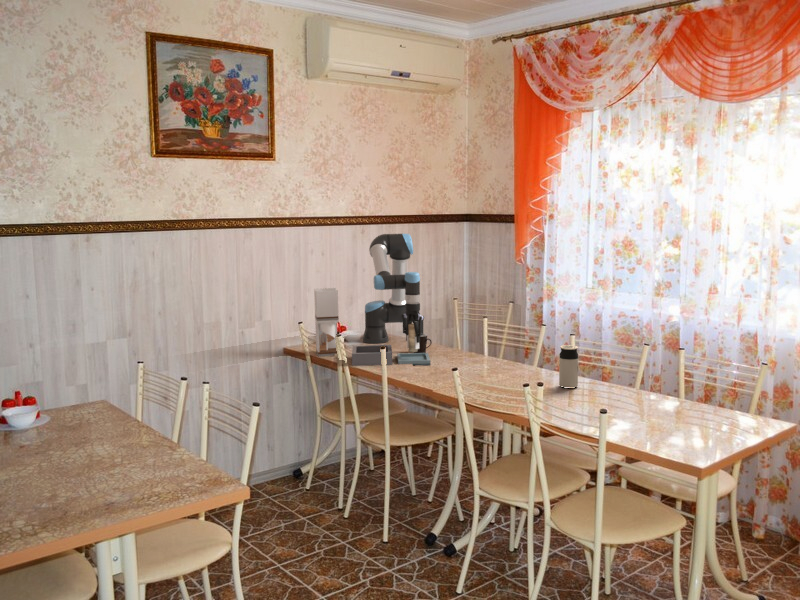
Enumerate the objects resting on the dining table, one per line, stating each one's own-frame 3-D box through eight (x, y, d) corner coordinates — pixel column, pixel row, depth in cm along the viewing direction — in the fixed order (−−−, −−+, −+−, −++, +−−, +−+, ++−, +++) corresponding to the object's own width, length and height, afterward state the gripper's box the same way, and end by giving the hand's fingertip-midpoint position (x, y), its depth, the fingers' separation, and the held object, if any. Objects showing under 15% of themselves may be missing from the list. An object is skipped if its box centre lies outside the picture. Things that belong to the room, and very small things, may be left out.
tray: (397, 358, 394) (397, 353, 393) (427, 357, 394) (427, 352, 394) (398, 366, 376) (398, 361, 375) (430, 365, 376) (430, 360, 376)
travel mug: (557, 388, 329) (557, 347, 326) (561, 384, 336) (561, 344, 334) (575, 390, 326) (576, 349, 323) (579, 385, 333) (580, 345, 330)
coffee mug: (408, 352, 406) (408, 334, 405) (423, 351, 410) (422, 333, 409) (418, 356, 396) (418, 338, 395) (433, 355, 400) (432, 336, 398)
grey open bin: (353, 358, 394) (352, 345, 393) (391, 357, 394) (391, 344, 393) (352, 367, 374) (351, 353, 373) (392, 366, 375) (392, 352, 374)
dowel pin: (408, 350, 386) (408, 323, 384) (417, 350, 386) (417, 323, 384) (409, 352, 382) (408, 325, 380) (417, 352, 382) (417, 324, 380)
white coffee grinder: (318, 356, 401) (316, 291, 396) (316, 352, 411) (314, 288, 406) (339, 355, 403) (337, 290, 398) (337, 351, 413) (335, 288, 408)
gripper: (394, 302, 384) (395, 347, 387) (420, 305, 372) (421, 351, 375) (404, 300, 389) (405, 344, 393) (430, 303, 377) (431, 349, 381)
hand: (413, 348), depth 384 cm, fingers closed on dowel pin, 4 cm apart
